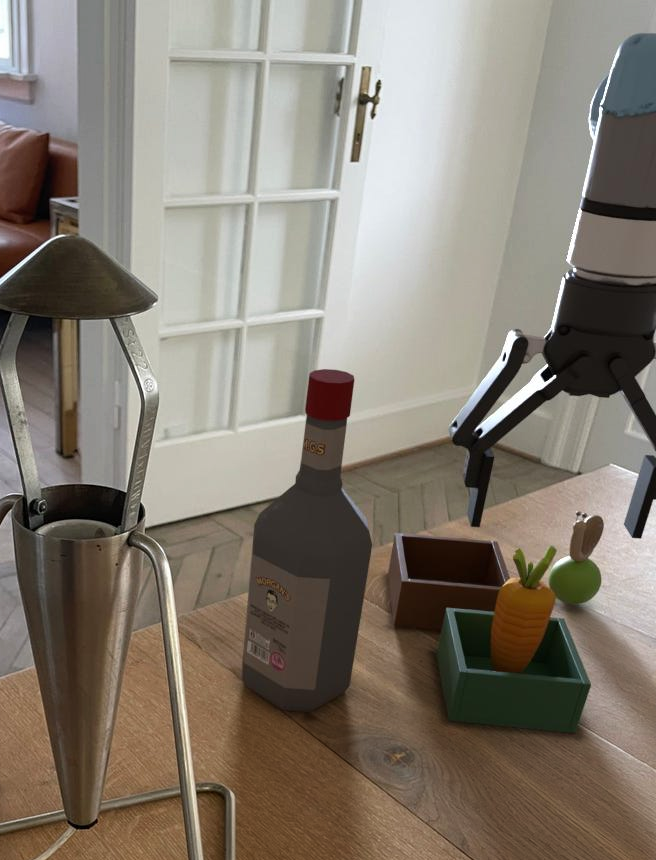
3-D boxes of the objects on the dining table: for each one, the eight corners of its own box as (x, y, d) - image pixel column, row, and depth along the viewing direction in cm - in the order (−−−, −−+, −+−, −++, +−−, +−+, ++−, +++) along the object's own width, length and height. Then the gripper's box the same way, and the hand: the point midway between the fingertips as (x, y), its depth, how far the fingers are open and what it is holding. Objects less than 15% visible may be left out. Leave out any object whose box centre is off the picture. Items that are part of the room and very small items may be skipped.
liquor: (297, 723, 88) (338, 402, 72) (227, 678, 94) (251, 371, 77) (361, 686, 93) (413, 380, 77) (291, 646, 99) (326, 352, 83)
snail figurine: (530, 602, 108) (556, 504, 102) (557, 584, 112) (584, 488, 105) (575, 621, 105) (606, 521, 98) (602, 602, 109) (633, 504, 102)
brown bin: (487, 584, 111) (497, 541, 108) (503, 636, 102) (514, 591, 99) (387, 575, 112) (395, 532, 109) (393, 626, 103) (402, 581, 100)
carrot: (477, 697, 91) (511, 556, 83) (476, 668, 96) (509, 532, 87) (531, 706, 91) (571, 564, 82) (528, 676, 95) (566, 539, 87)
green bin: (550, 664, 98) (564, 618, 95) (575, 733, 88) (591, 684, 85) (436, 653, 99) (446, 607, 96) (448, 720, 89) (460, 671, 86)
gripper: (769, 270, 75) (686, 517, 87) (444, 255, 77) (404, 498, 89) (811, 292, 69) (715, 556, 81) (455, 276, 71) (411, 534, 83)
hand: (551, 526), depth 85 cm, fingers open, 13 cm apart
